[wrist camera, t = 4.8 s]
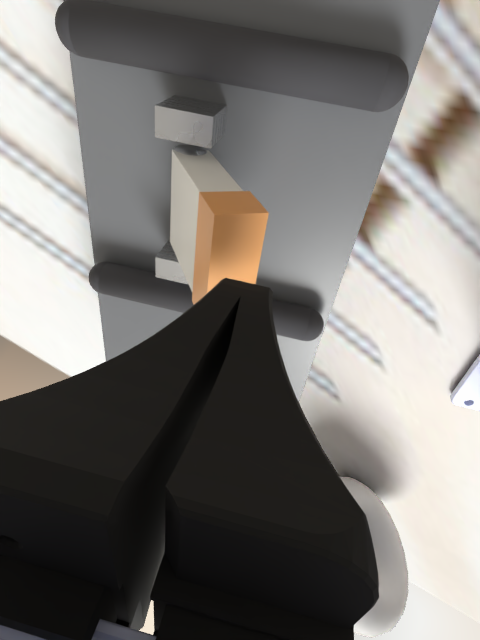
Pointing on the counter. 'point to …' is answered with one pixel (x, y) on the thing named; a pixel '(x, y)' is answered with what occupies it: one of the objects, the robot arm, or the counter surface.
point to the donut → (382, 563)
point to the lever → (213, 222)
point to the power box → (236, 141)
